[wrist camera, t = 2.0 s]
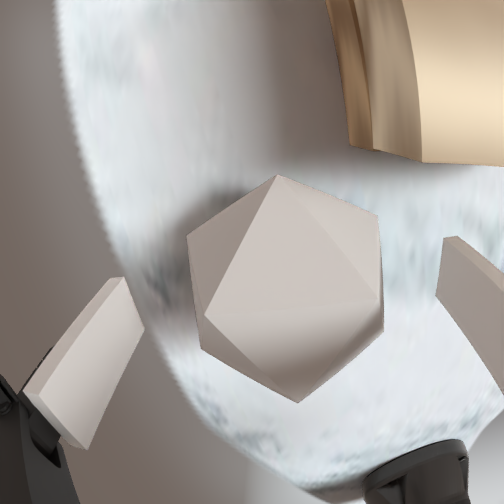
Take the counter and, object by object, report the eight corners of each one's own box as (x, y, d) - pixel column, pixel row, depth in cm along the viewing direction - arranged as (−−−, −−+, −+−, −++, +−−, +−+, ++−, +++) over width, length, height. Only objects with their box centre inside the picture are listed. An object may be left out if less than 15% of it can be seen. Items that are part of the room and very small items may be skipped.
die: (174, 221, 16) (161, 404, 12) (245, 96, 10) (258, 404, 5) (296, 252, 20) (310, 402, 15) (393, 172, 13) (451, 373, 8)
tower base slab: (501, 146, 13) (543, 157, 9) (347, 144, 14) (373, 151, 10) (473, -10, 8) (507, -25, 5) (312, -39, 10) (323, -76, 6)
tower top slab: (543, 161, 9) (594, 180, 6) (373, 148, 10) (421, 162, 7) (512, -20, 5) (554, -33, 1) (331, -77, 6) (348, -127, 2)
